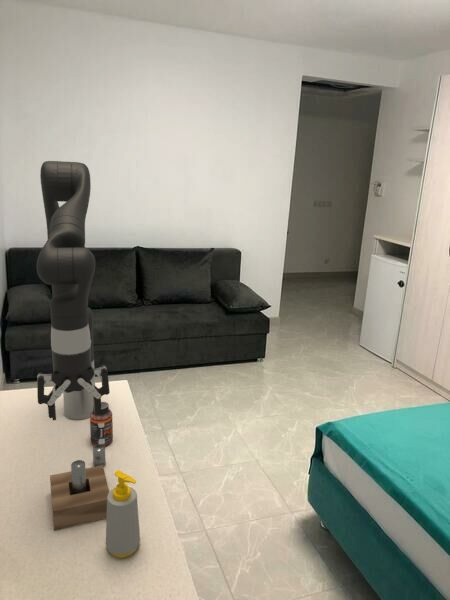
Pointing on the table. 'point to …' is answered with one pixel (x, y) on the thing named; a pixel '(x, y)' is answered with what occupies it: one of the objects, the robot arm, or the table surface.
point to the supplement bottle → (101, 426)
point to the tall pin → (78, 477)
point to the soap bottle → (122, 518)
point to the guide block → (79, 499)
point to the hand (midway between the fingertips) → (75, 415)
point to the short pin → (99, 455)
